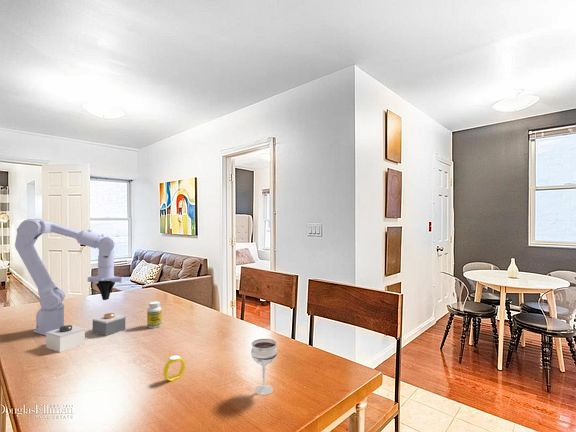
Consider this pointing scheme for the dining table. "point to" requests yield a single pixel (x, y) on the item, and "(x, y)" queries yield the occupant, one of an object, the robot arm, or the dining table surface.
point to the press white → (65, 339)
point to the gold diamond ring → (171, 359)
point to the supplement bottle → (154, 315)
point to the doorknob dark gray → (65, 328)
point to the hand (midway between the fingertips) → (105, 299)
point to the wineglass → (264, 360)
